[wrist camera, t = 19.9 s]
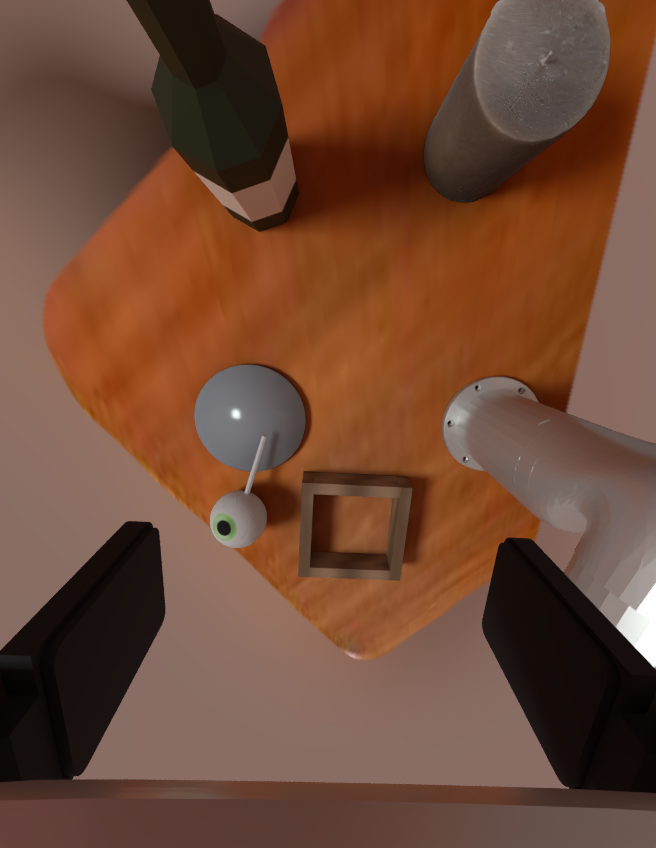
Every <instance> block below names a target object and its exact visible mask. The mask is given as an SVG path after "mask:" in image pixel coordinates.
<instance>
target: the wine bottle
mask: <svg viewBox="0 0 656 848" xmlns="http://www.w3.org/2000/svg"><path fill="white" fill-rule="evenodd" d="M127 2H128V3H129V5H130V6H131V8H132V10H133V12H134V13H135V15H136V16H137V18H138V20H139V21H140V23H141V25H142V26H143V28H144V29H145V31H146V33H147V34H148V36H149V38H150V39H151V41H152V43H153V44H154V46H155V47H156V49H157V51H158V52H159V54H160V57H159V61H158V65H157V69H156V73H155V77H154V81H153V84H152V88H151V90H152V93H153V96H154V98H155V101H156V104H157V107H158V109H159V112H160V114H161V117H162V120H163V123H164V126H165V128H166V131H167V134H168V136H169V139H170V142H171V145H172V147H173V148H174V149H175V150H176V151H177V152H178V154H179V155H180V156H181V157H182V158H183V159H184V161H185V162H186V163H187V164H188V165H189V166H190V167H191V169H192V170H193V171H194V172H195V173H196V174H197V176H198V177H199V178H200V179H201V180H202V181H203V183H204V184H205V185H206V186H207V187H208V188H209V190H210V191H211V192H212V193H213V194H214V195H215V196H216V198H217V199H218V200H219V201H220V202H221V203H222V205H223V206H224V207H225V208H226V209H227V210H228V212H229V213H230V214H231V215H232V216H233V217H234V218H236V219H238V220H240V221H241V222H243V223H245V224H247V225H248V226H250V227H252V228H254V229H255V230H257V231H259V232H260V231H262V230H265V229H268V228H271V227H274V226H277V225H280V224H283V223H286V221H287V219H288V217H289V215H290V212H291V210H292V208H293V206H294V203H295V201H296V199H297V197H298V194H299V192H298V186H297V181H296V176H295V170H294V165H293V160H292V154H291V149H290V144H289V138H288V133H287V128H286V122H285V117H284V112H283V106H282V102H281V99H280V95H279V92H278V88H277V85H276V81H275V78H274V74H273V71H272V67H271V64H270V60H269V57H268V53H267V50H266V46H265V45H263V44H262V43H260V42H259V41H257V40H256V39H254V38H252V37H251V36H250V35H248V34H246V33H245V32H243V31H242V30H240V29H239V28H237V27H236V26H234V25H233V24H231V23H230V22H228V21H227V20H225V19H223V18H222V17H220V16H219V15H217V14H214V11H213V9H212V6H211V3H210V0H127Z"/></svg>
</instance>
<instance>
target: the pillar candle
mask: <svg viewBox="0 0 656 848" xmlns="http://www.w3.org/2000/svg"><path fill="white" fill-rule="evenodd" d="M609 58H610V32H609V28H608V23H607V20H606V16H605V8H604V5H603V4H602V3H600V2H599V1H598V0H500V1H498V2H497V3H496V5H495V6H494V8H493V10H492V12H491V17H490V18H489V19H488V20H487V23H486V25H485V27H484V28H483V31H482V32H481V34H480V36H479V38H478V40H477V41H476V43H475V45H474V47H473V48H472V51H471V52H470V54H469V56H468V57H467V59H466V61H465V63H464V65H463V67H462V68H461V70H460V72H459V74H458V75H457V77H456V79H455V80H454V82H453V85H452V87H451V89H450V91H449V93H448V94H447V96H446V98H445V99H444V101H443V103H442V105H441V107H440V109H439V111H438V113H437V114H436V116H435V118H434V119H433V121H432V124H431V126H430V128H429V131H428V133H427V136H426V140H425V145H424V152H423V157H424V165H425V169H426V173H427V176H428V178H429V181H430V182H431V184H432V186H433V187H434V188H435V189H436V191H437V192H438V193H440V194H441V195H442V196H443V197H446V198H448V199H449V200H452V201H456V202H473V201H476V200H477V199H478V198H481V197H482V196H484V195H488V194H489V193H491V192H492V191H493V190H495V189H496V188H497V187H498V186H500V185H501V184H502V183H504V182H505V181H506V180H507V179H508V178H509V177H511V176H512V175H514V174H515V173H516V172H517V171H518V170H520V169H521V168H522V167H523V166H525V165H526V164H527V163H528V162H530V161H531V160H532V159H533V158H535V157H536V156H537V155H538V154H540V153H541V152H542V151H543V150H545V149H546V148H547V147H548V146H550V145H551V144H552V143H554V142H555V141H556V140H558V139H559V138H560V137H561V136H562V135H564V134H565V133H566V132H567V131H569V130H570V129H571V128H572V127H574V126H575V125H576V124H577V123H578V122H579V121H580V120H581V119H582V118H583V117H584V116H585V115H586V113H587V112H588V111H589V109H590V108H591V107H592V105H593V104H594V102H595V100H596V99H597V97H598V95H599V93H600V91H601V88H602V86H603V83H604V81H605V78H606V75H607V70H608V64H609Z"/></svg>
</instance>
